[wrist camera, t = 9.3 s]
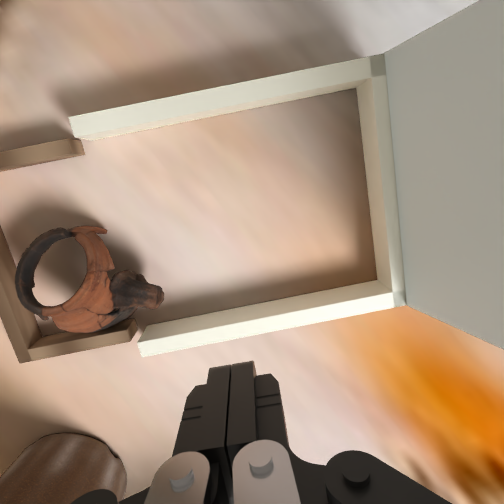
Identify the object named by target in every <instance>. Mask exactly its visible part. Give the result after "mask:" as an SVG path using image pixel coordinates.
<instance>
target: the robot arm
mask: <svg viewBox="0 0 504 504" xmlns="http://www.w3.org/2000/svg"><path fill="white" fill-rule="evenodd" d="M70 504H452V503H450V502H448V501H447V500H445V499H443V498H442V497H440V496H438V495H437V494H435V493H433V492H432V491H430V490H429V489H427V488H425V487H424V486H422V485H420V484H419V483H417V482H415V481H414V480H412V479H410V478H409V477H407V476H406V475H404V474H402V473H401V472H399V471H397V470H396V469H394V468H392V467H391V466H389V465H387V464H386V463H384V462H383V461H381V460H379V459H378V458H376V457H374V456H372V455H370V454H368V453H365V452H362V451H354V450H352V451H344V452H341V453H339V454H337V455H335V456H334V457H332V458H331V459H330V460H329V462H328V463H327V465H326V466H325V465H318V464H312V463H308V462H306V461H303V460H301V459H300V458H298V457H297V456H296V455H295V454H294V453H293V452H292V451H291V449H290V447H289V442H288V436H287V429H286V423H285V417H284V411H283V406H282V400H281V394H280V389H279V383H278V381H277V380H276V379H275V378H274V377H273V376H272V374H264V375H258V376H257V375H256V370H255V365H254V361H249V362H243V363H237V364H232V365H225V366H219V367H213V368H210V369H209V373H208V379H207V384H204V385H198V386H195V388H194V389H193V390H192V391H191V393H190V394H189V395H188V397H187V399H186V403H185V407H184V411H183V415H182V421H181V423H180V427H179V431H178V435H177V439H176V443H175V447H174V451H173V455H172V457H171V458H170V459H168V460H167V461H166V462H165V463H164V464H163V465H162V466H161V467H160V468H159V469H158V471H157V472H156V474H155V476H154V478H153V481H152V484H151V486H150V487H149V488H147V489H145V490H143V491H141V492H139V493H137V494H135V495H133V496H130V497H128V498H126V499H124V500H122V501H119V502H118V500H117V497H116V495H115V494H114V493H113V492H112V491H110V490H107V489H97V490H93V491H90V492H88V493H85V494H83V495H82V496H80V497H78V498H77V499H75V500H74V501H73V502H72V503H70Z"/></svg>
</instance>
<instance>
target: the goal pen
mask: <svg viewBox="0 0 504 504" xmlns="http://www.w3.org/2000/svg"><path fill="white" fill-rule="evenodd" d="M81 155H85V152H84V149H83V146H82V142H81V141H80V140H74V139H69V138H66V139H61V140H56V141H51V142H46V143H41V144H36V145H31V146H26V147H21V148H17V149H12V150H7V151H2V152H0V172H1V171H6V170H11V169H16V168H21V167H26V166H31V165H36V164H41V163H46V162H51V161H56V160H61V159H66V158H71V157H76V156H81ZM16 270H17V268H16V266H15V263H14V261H13V258H12V255H11V253H10V250H9V247H8V245H7V242H6V239H5V237H4V234H3V232H2V229H1V226H0V317H1V319H2V322H3V324H4V326H5V329H6V331H7V334H8V336H9V339H10V341H11V344H12V346H13V349H14V351H15V354H16V356H17V358H18V361H19V363H24V362H29V361H35V360H40V359H45V358H50V357H55V356H60V355H65V354H70V353H75V352H80V351H85V350H90V349H95V348H100V347H105V346H110V345H115V344H120V343H125V342H130V341H131V340H132V338H133V337H134V335H135V333H136V332H137V330H138V328H137V325H136V321H135V319H129V320H124V321H122V322H120V323H117V324H115V325H113V326H110V327H108V328H106V329H103V330H99V331H97V332H91V333H82V332H81V333H79V332H78V333H74V332H64V333H59V334H54V335H49V336H44V337H42V334H41V332H40V329H39V326H38V324H37V321H36V319H35V316H34V313H32V312H30V311H29V310H27V309H25V308H24V306H23V305H22V304H21V302H20V300H19V298H18V296H17V293H16V288H15V286H16V285H15V274H16Z"/></svg>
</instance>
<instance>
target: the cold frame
mask: <svg viewBox="0 0 504 504" xmlns="http://www.w3.org/2000/svg"><path fill="white" fill-rule="evenodd" d="M352 88H356V89H357V98H358V108H359V117H360V126H361V135H362V144H363V153H364V162H365V171H366V180H367V189H368V199H369V208H370V217H371V226H372V235H373V244H374V253H375V262H376V271H377V280H374V281H369V282H364V283H359V284H354V285H349V286H344V287H339V288H334V289H329V290H324V291H319V292H314V293H309V294H304V295H299V296H294V297H289V298H284V299H279V300H274V301H269V302H263V303H258V304H253V305H248V306H243V307H238V308H233V309H228V310H223V311H218V312H213V313H208V314H203V315H198V316H193V317H188V318H183V319H178V320H173V321H168V322H163V323H158V324H152V325H147V327H146V328H145V330H144V332H143V334H142V336H141V337H140V339H139V341H138V347H139V350H140V353H141V356H142V357H146V356H151V355H156V354H161V353H166V352H172V351H177V350H182V349H187V348H192V347H197V346H202V345H207V344H212V343H217V342H222V341H227V340H232V339H237V338H242V337H247V336H252V335H257V334H263V333H268V332H273V331H278V330H283V329H288V328H293V327H298V326H303V325H308V324H313V323H318V322H323V321H328V320H333V319H338V318H343V317H349V316H354V315H359V314H364V313H369V312H374V311H379V310H384V309H389V308H394V307H399V306H404V305H407V306H409V307H411V308H414V309H416V310H418V311H420V312H422V313H425V314H427V315H429V316H431V317H433V318H436V319H438V320H440V321H442V322H444V323H447V324H449V325H451V326H453V327H455V328H458V329H460V330H462V331H464V332H466V333H469V334H471V335H473V336H475V337H477V338H480V339H482V340H484V341H486V342H488V343H491V344H493V345H495V346H497V347H499V348H502V349H504V0H479V1H477V2H476V3H474V4H472V5H470V6H468V7H467V8H465V9H463V10H461V11H459V12H458V13H456V14H454V15H452V16H450V17H449V18H447V19H445V20H443V21H441V22H440V23H438V24H436V25H434V26H432V27H431V28H429V29H427V30H425V31H423V32H421V33H420V34H418V35H416V36H414V37H412V38H411V39H409V40H407V41H405V42H403V43H402V44H400V45H398V46H396V47H394V48H393V49H391V50H389V51H387V52H385V53H384V54H379V55H374V56H369V57H364V58H359V59H354V60H349V61H344V62H339V63H334V64H329V65H324V66H319V67H314V68H309V69H305V70H300V71H295V72H290V73H285V74H280V75H275V76H270V77H265V78H260V79H255V80H250V81H245V82H240V83H235V84H230V85H225V86H220V87H215V88H210V89H205V90H200V91H195V92H191V93H186V94H181V95H176V96H171V97H166V98H161V99H156V100H151V101H146V102H141V103H136V104H131V105H126V106H121V107H116V108H111V109H106V110H101V111H96V112H91V113H86V114H81V115H76V116H72V117H68V118H69V121H70V124H71V128H72V131H73V134H74V137H75V138H81V139H86V140H92V141H94V140H99V139H104V138H109V137H114V136H119V135H124V134H129V133H134V132H139V131H144V130H149V129H154V128H159V127H164V126H169V125H173V124H178V123H183V122H188V121H193V120H198V119H203V118H208V117H213V116H218V115H223V114H228V113H233V112H238V111H243V110H248V109H253V108H258V107H263V106H268V105H273V104H278V103H283V102H288V101H293V100H298V99H303V98H308V97H313V96H318V95H323V94H328V93H332V92H337V91H342V90H347V89H352Z"/></svg>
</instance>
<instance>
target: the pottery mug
mask: <svg viewBox="0 0 504 504" xmlns="http://www.w3.org/2000/svg"><path fill="white" fill-rule="evenodd" d="M96 233H97V234H106V233H107V230H106V229H103V228H99V227H92V226H81V227H79V226H77V227H73V228H70V229H67V230H66V229H64V228H56V229H52V230H50V231H48V232H46V233H44V234H42V235H40V236H39V237H38V238H36V239H35V240H34V241H33V242H32V243H31V244H30V247H28V248H27V249H26V251H25V252H24V253H23V254H22V257H21V259H20V261H19V263H18V266H17V270H16V274H15V285H16V286H15V288H16V293H17V296H18V298H19V300H20V302H21V304H22V305H23V306H24V308H25V309H27V310H29V311H30V312H32V313H34V314H36V315H38V316H39V317H40V318H41V319H42V320H48V319H49V318H48V317H47V316H51V317H52V319H53V322H54V323H55V325H56V326H57V327H58V328H59V329H61V330H66V331H68V332H74V333H78V332H79V333H81V332H82V333H91V332H97V331H99V330H103V329H106V328H108V327H110V326H113V325H115V324H117V323H120V322H122V321H124V320H126V319H127V318H128V317H130V316H131V315H132V314H133V313H134V312H135V310H136V309H137V308H138V307H145V308H149V309H156V308H158V307H159V305H160V304H161V303H162V301H163V300H164V292H163V291H162V288H161V287H160V286H156V285H153V284H149V283H148V282H147V281H146V279H145V278H144V276H143V275H141V274H136V273H134V272H131V271H129V270H124V271H122V272H118V273H116V274H115V275H114V276H113V277H112V280H111V281H110V279H109V278H108V274H107V272H108V271H110V270H113V269H114V264H113V261H112V259H111V256H110V253H109V251H108V249H107V248H106V246H105V244H104V242H103V241H102V239H101V238H100V237H99V236H98V235H97V234H96ZM70 237H75V240H76V241H77V242H78V243H79V244H80V245H81V246H82V247H83V249H84V250H85V253H86V257H87V274H86V276H85V279H84V281H83V283H82V285H81V286H80V288H79V289H78V291H77V292H76V293H75V294H74V295H73V296H72V297H71V298H70V299H69V300H67V301H66V302H64V303H63V304H60V305H57V306H43V305H42V304H40V303H39V302H38V301H37V300H36V299H35V297H34V295H33V292H32V288H33V287H35V283H34V272H35V269H36V267H37V264H38V262H39V260H40V258H41V256H42V254H43V253H45V252H46V251H47V249H48V248H49V247H50V246H51V245H52V244H53V243H55V242H56V241H58V240H61V239H65V238H70ZM114 308H118V310H117V311H113V309H114Z"/></svg>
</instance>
